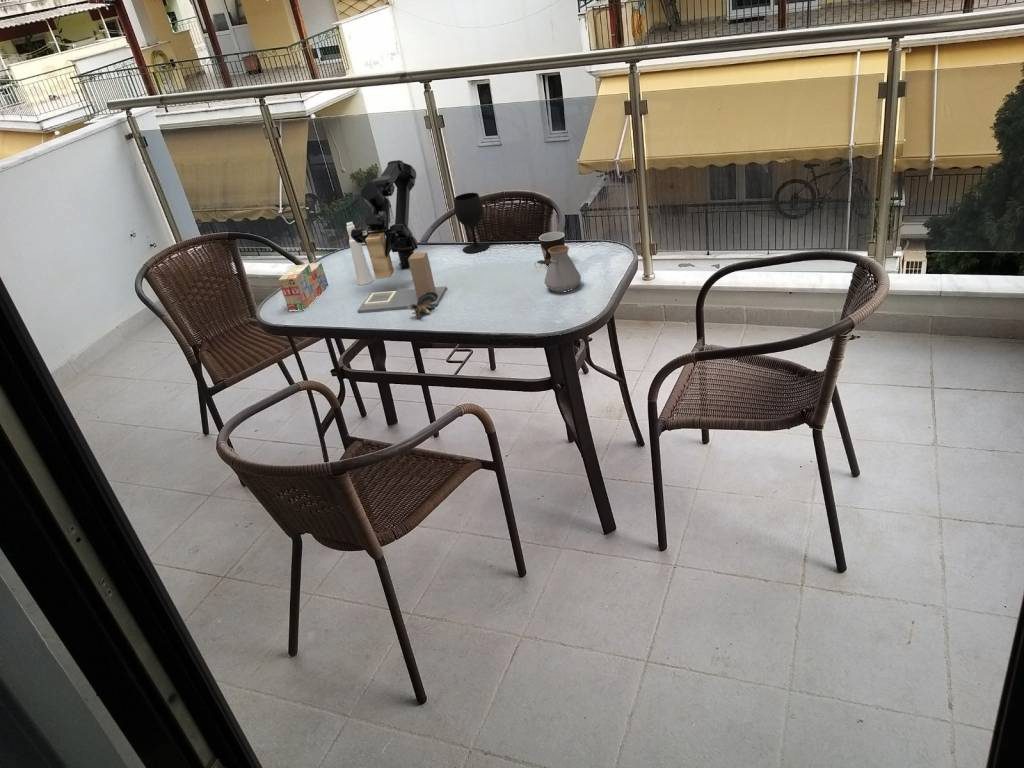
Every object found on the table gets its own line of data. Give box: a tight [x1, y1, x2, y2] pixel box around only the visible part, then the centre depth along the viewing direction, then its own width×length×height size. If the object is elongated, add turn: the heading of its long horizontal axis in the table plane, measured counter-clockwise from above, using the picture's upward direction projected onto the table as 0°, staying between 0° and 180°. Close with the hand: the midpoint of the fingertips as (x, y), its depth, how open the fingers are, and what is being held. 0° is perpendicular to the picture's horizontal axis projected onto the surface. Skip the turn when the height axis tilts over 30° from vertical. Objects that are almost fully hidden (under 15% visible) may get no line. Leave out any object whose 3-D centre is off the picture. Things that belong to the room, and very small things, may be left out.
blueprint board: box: [356, 251, 448, 314], centre depth 249 cm, size 14×27×15 cm, turn 81°
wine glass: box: [453, 192, 491, 255], centre depth 281 cm, size 10×10×20 cm
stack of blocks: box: [278, 261, 329, 311], centre depth 265 cm, size 21×6×12 cm, turn 170°
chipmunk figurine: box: [407, 292, 438, 320], centre depth 239 cm, size 8×7×9 cm
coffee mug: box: [538, 231, 566, 267], centre depth 258 cm, size 12×9×10 cm
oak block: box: [365, 233, 395, 280], centre depth 255 cm, size 5×5×14 cm
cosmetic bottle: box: [346, 221, 375, 286], centre depth 269 cm, size 6×6×22 cm
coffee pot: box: [534, 245, 582, 293], centre depth 233 cm, size 21×12×15 cm, turn 154°
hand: (378, 257), depth 253 cm, fingers closed on oak block, 5 cm apart
